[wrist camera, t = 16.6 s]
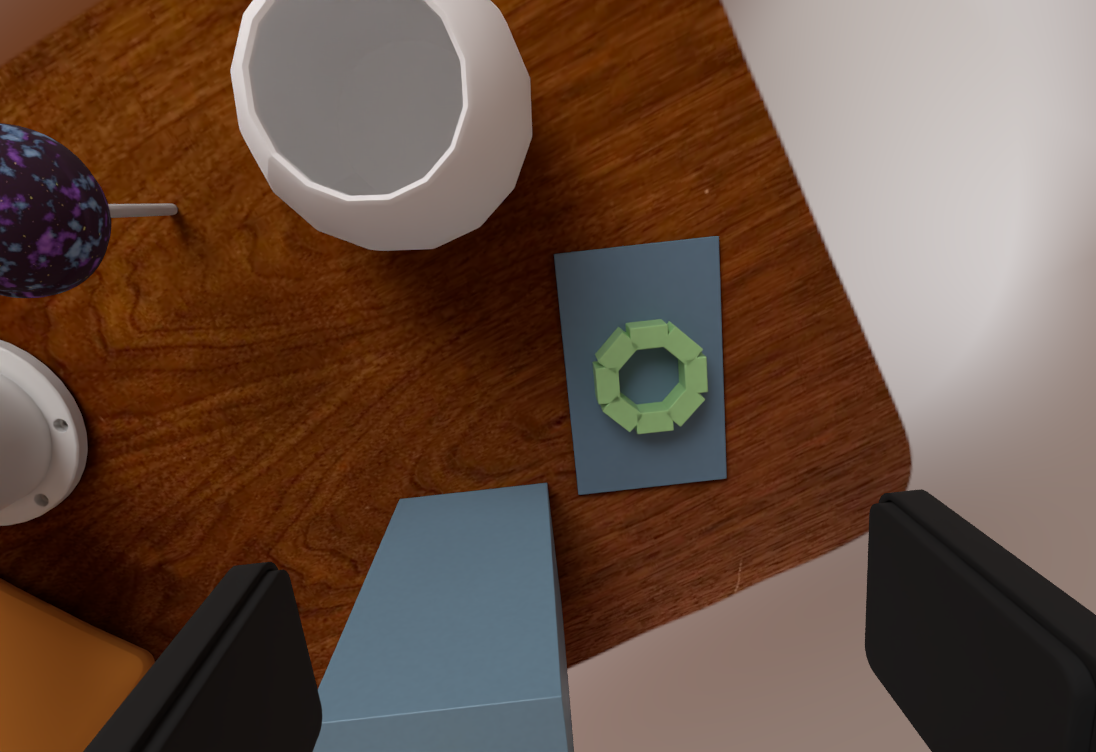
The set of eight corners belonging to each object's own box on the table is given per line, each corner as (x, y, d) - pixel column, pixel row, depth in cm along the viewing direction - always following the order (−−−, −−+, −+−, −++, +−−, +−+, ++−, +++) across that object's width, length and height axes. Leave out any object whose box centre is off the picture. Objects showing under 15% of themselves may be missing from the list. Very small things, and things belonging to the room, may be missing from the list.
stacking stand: (423, 625, 45) (317, 1052, 23) (399, 498, 42) (252, 840, 20) (562, 609, 45) (596, 1021, 23) (547, 482, 42) (569, 804, 20)
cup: (577, 155, 37) (604, 131, 24) (401, 287, 39) (337, 332, 26) (437, -58, 34) (380, -217, 21) (251, 97, 36) (93, 38, 23)
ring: (598, 428, 41) (601, 438, 39) (589, 326, 39) (591, 332, 38) (702, 417, 41) (709, 426, 39) (697, 314, 39) (705, 319, 38)
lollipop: (249, 250, 38) (78, 282, 23) (142, 281, 38) (-93, 331, 24) (202, 132, 36) (-15, 87, 22) (90, 166, 36) (-199, 143, 22)
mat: (578, 492, 43) (578, 495, 42) (553, 253, 38) (553, 254, 38) (725, 476, 43) (726, 478, 42) (716, 235, 38) (718, 236, 38)
